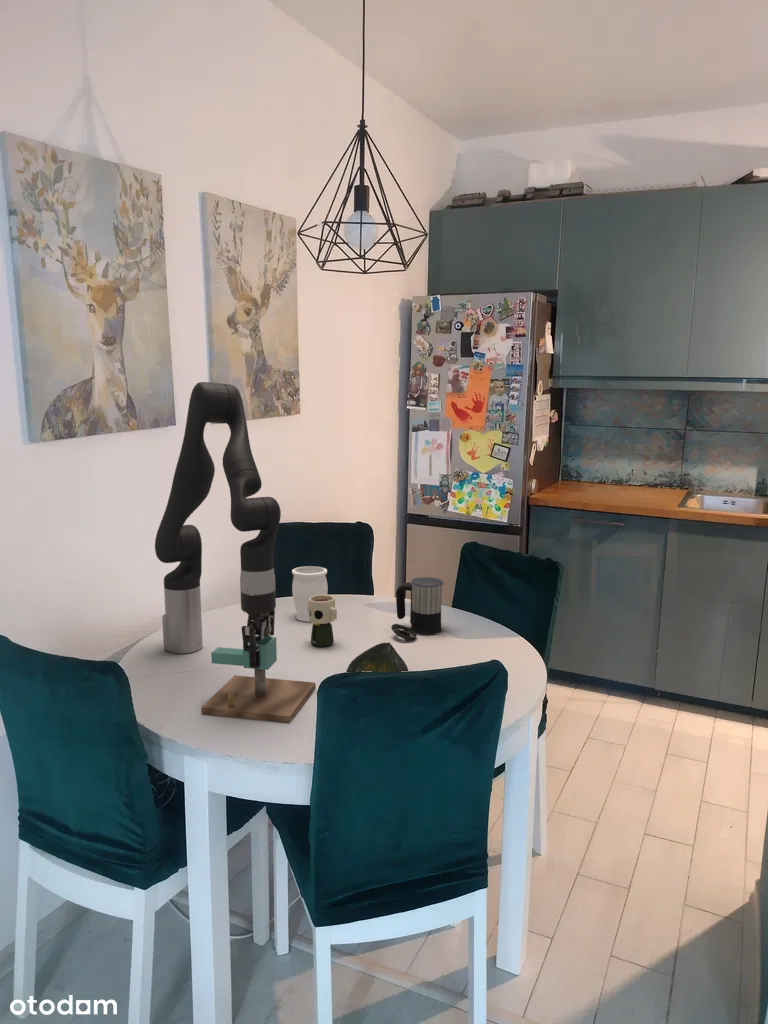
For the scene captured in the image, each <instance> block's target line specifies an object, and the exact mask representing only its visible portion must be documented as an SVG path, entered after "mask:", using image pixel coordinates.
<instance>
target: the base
mask: <svg viewBox="0 0 768 1024" xmlns="http://www.w3.org/2000/svg"><path fill="white" fill-rule="evenodd" d="M253 674H254V676H248V675H235V674H234V675H233V676H232V677H231V678H230V679H229V680H228V681H227V682H225V684H224V685H223V686H222V687H221V688H220V689H218V690H217V691H216V692H215V694H214V695H212V697H210V698H209V699H208V700H207V701H206V702H205V703H204V704H203V705H202V706H201V707H200V711H201V712H200V714H201V715H207V716H215V717H216V716H218V717H227V718H236V719H237V718H240V719H247V720H256V721H267V722H276V723H278V722H279V723H288V724H291V722H292V721H293V719H294V718H296V716H297V714H298V713H299V712H300V710H301V709H302V707H303V706H304V705H305V703H306V702H307V701H308V700H309V698H310V697H311V695H313V693H314V692H315V690H316V688H317V687H316V682H313V681H303V680H291V679H280V678H269V677H268V678H266V670H263V669H254V673H253Z"/></svg>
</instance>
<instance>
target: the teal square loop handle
mask: <svg viewBox="0 0 768 1024" xmlns="http://www.w3.org/2000/svg"><path fill="white" fill-rule="evenodd" d="M255 637H259V635H255ZM256 643H257V641H256ZM210 654H211V655H210V656H211V664H213V665H214V664H215V665H228V666H242V667H243V669H263V670H265V671H268V670H270V669H271V667H272V666H273V665H274V664H275V663H277V660H278V659H277V657H278V656H277V655H278V653H277V636H271V637H267V636H263V641H261V643H260V667H259V668H251V667H250V662H249V651H244V646H243V645H242V648H233V647H220V646H219V647H217V648H215V649H214V650H213V651H211V653H210Z"/></svg>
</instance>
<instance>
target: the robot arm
mask: <svg viewBox="0 0 768 1024" xmlns="http://www.w3.org/2000/svg"><path fill="white" fill-rule="evenodd" d="M208 423H211V424H227V425H228V427H229V428H228V429H229V430H230V431H229V432H230V436H229V439H228V442H227V444H226V446H225V450H224V452H223V456H222V468H223V473H224V476H225V477H226V481H227V484H228V487H229V493H230V521H231V525H232V526H233V528H235V529H236V530H237V531H239V532H242V533H243V532H245V533H246V532H252V531H253V532H254V531H259V533H258V535H256V537H254V538H252V539H250V540H247V541H245V542H243V543H242V544H241V545H240V547H239V548H240V551H239V553H240V576H239V585H240V586H239V587H240V591H239V593H240V610H241V611H242V612H244V613H246V614H247V615H248V616H247V621H246V625H242V626H241V634H242V635H241V636H242V647H243V646H244V651H249V662H250V667H251V668H259V667H260V643H261V641H263V636H267V637H274V635H275V617H276V616H275V614H276V607H277V605H276V603H277V602H276V601H277V597H276V595H277V594H276V575H275V567H274V548H275V547H274V546H275V543H276V538H277V533H278V530H279V526H280V522H281V517H282V513H281V507H280V504H279V502H278V501H277V499H275V498H274V497H272V496H260V497H259V496H258V497H252V496H253V495H256V494H257V493H258V492H259V491H261V488H262V479H261V476H260V473H259V470H258V468H257V465H256V462H255V458H254V456H253V453H252V448H251V445H250V444H251V443H250V438H249V437H250V436H249V430H248V424H247V419H246V413H245V407H244V402H243V398H242V395H241V392H240V391H239V388H237V387H236V386H235V385H233V384H229V383H222V382H221V383H220V382H219V383H218V382H211V381H210V382H208V381H206V382H205V381H200V382H197V383H196V384H195V385H194V387H193V388H192V390H191V393H190V398H189V403H188V409H187V416H186V421H185V428H184V434H183V440H182V444H181V446H180V447H181V448H180V452H179V455H178V459H177V463H176V466H175V470H174V473H173V479H172V484H171V488H170V493H169V496H168V499H167V504H166V507H165V510H164V514H163V516H162V519H161V520H160V523H159V526H158V529H157V531H156V536H155V539H154V540H155V541H154V552H155V556H156V558H157V559H158V560H159V561H160V562H161V563H162V564H163V563H164V564H173V563H179V562H180V563H179V564H178V565H177V566H176V567H175V568H174V569H173V570H172V571H169V572H167V574H166V575H165V576H164V578H163V592H164V593H163V594H164V596H163V597H164V609H165V610H164V612H165V613H164V614H162V618H161V619H162V639H163V641H162V642H163V651H167V652H170V653H172V654H183V655H184V654H191V653H194V652H197V651H199V650H201V649H202V648H203V645H204V644H203V621H202V599H201V598H202V597H201V596H202V595H201V577H202V571H203V570H202V563H203V562H202V561H203V559H202V556H203V551H202V550H203V547H202V546H203V545H202V544H203V543H202V535H201V533H200V531H199V529H198V527H197V526H196V525H194V524H185V523H186V522H187V520H188V518H190V516H191V515H192V514H193V513H194V512H195V511H196V510H197V509H198V508H199V507H200V506H201V505H202V504H203V502H204V501H205V500H206V498H207V497H208V496H209V494H210V491H211V488H212V485H213V480H214V476H215V474H216V473H215V472H216V470H215V464H214V461H213V458H212V456H211V454H210V452H209V450H208V447H207V445H206V441H205V439H204V434H205V433H204V431H205V428H206V425H207V424H208ZM248 497H249V498H248ZM255 636H259V637H255ZM256 641H257V643H256ZM251 668H250V669H251Z"/></svg>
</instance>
